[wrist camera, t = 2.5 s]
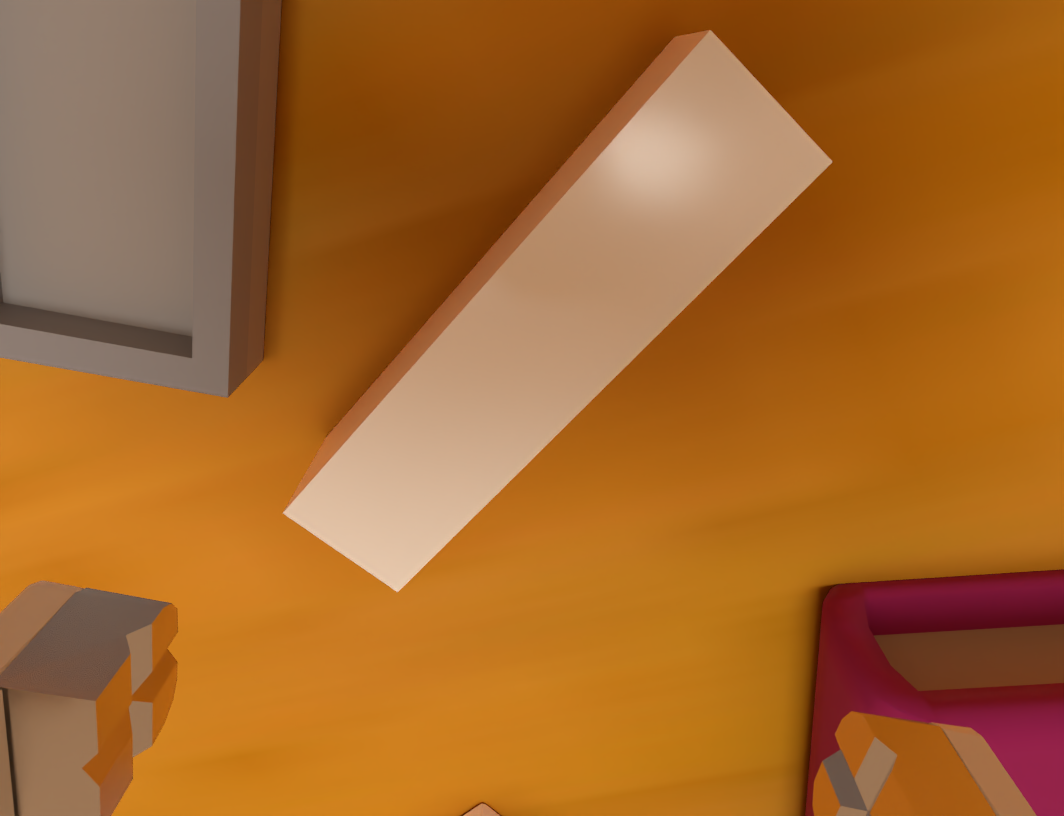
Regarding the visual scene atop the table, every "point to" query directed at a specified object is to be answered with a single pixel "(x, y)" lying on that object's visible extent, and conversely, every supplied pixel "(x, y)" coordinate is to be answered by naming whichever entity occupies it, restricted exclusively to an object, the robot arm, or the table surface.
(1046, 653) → the book
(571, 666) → the table surface
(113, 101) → the divided tray
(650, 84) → the clay strip
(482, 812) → the ink cartridge box
